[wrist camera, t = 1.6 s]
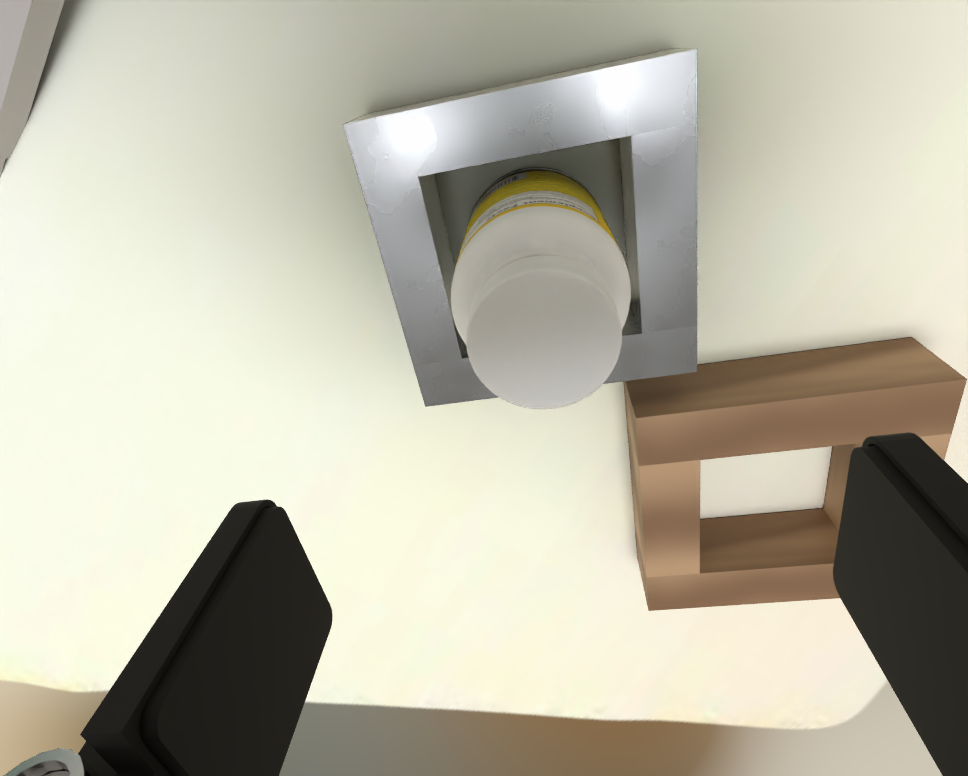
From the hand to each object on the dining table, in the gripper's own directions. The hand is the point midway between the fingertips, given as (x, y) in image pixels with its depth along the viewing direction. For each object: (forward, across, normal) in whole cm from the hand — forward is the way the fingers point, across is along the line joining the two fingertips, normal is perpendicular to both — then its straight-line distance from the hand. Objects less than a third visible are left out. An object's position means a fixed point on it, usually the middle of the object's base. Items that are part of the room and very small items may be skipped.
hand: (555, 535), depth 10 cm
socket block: (+16, 0, -1) cm, 16 cm away
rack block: (+16, -9, +12) cm, 22 cm away
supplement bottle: (+16, 0, -1) cm, 16 cm away
